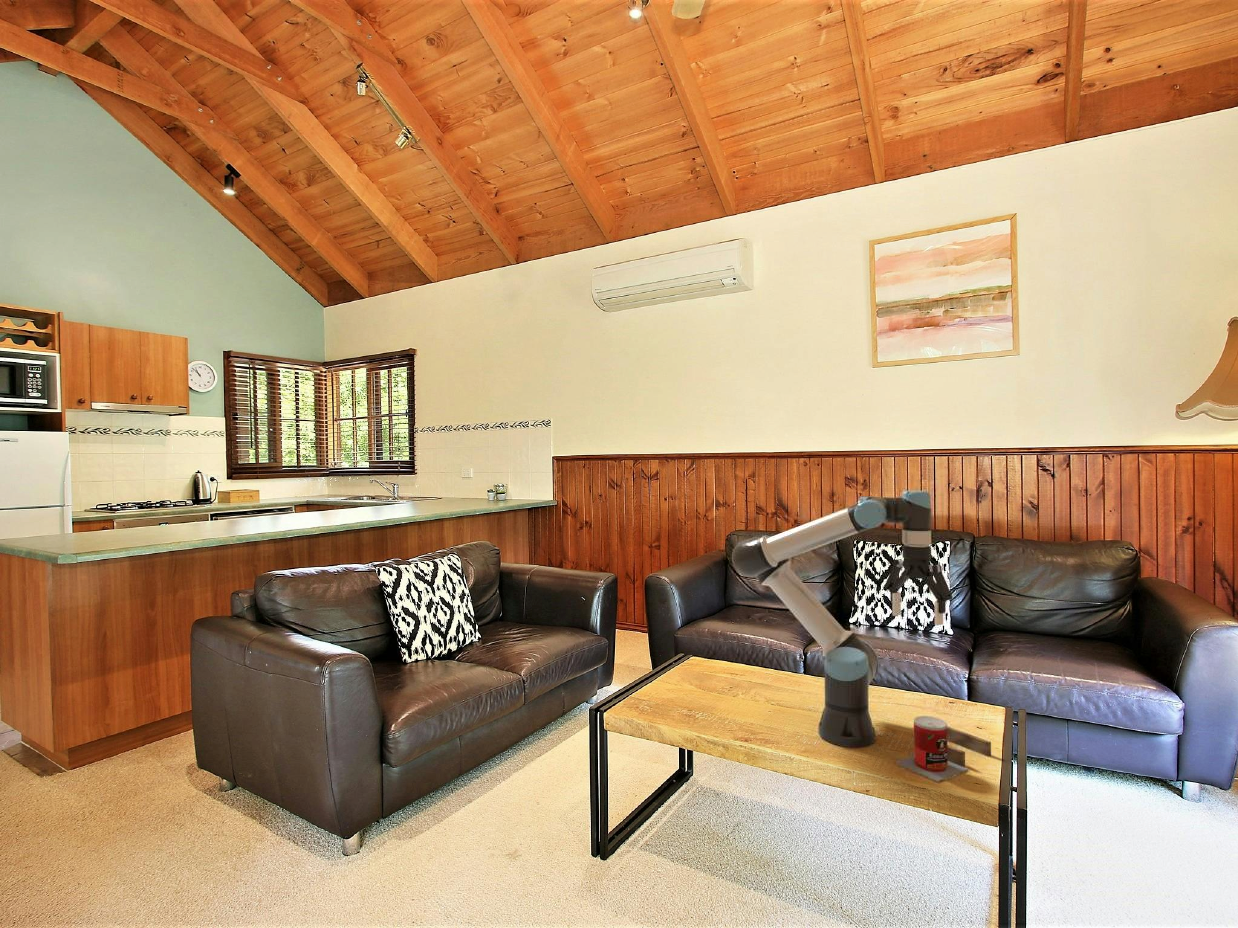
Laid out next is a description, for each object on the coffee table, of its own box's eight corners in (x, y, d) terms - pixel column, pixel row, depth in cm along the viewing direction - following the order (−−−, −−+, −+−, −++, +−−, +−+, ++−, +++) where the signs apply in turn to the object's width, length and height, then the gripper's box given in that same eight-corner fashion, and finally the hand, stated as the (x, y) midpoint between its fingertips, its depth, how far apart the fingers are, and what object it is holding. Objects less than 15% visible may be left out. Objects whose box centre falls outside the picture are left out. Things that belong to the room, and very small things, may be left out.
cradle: (919, 749, 180) (919, 736, 180) (948, 739, 186) (948, 726, 186) (962, 766, 170) (962, 752, 170) (991, 755, 176) (991, 741, 176)
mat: (894, 763, 172) (894, 761, 172) (924, 752, 178) (924, 751, 178) (937, 782, 162) (937, 780, 162) (967, 770, 168) (967, 768, 168)
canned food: (929, 774, 165) (928, 729, 165) (906, 760, 173) (906, 717, 173) (955, 770, 167) (954, 725, 167) (932, 756, 175) (931, 714, 175)
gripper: (966, 548, 183) (966, 627, 183) (888, 539, 205) (888, 609, 205) (949, 550, 179) (949, 630, 179) (871, 541, 201) (871, 612, 201)
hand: (917, 619), depth 192 cm, fingers open, 13 cm apart
